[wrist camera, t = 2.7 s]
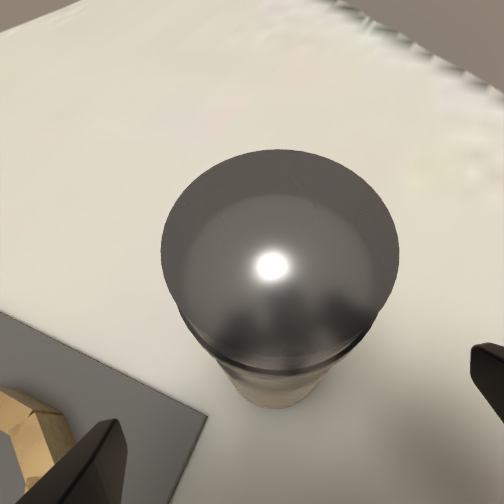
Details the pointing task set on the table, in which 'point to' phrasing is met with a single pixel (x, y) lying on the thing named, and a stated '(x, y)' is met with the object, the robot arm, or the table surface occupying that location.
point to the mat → (96, 412)
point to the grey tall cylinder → (279, 268)
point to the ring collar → (34, 433)
